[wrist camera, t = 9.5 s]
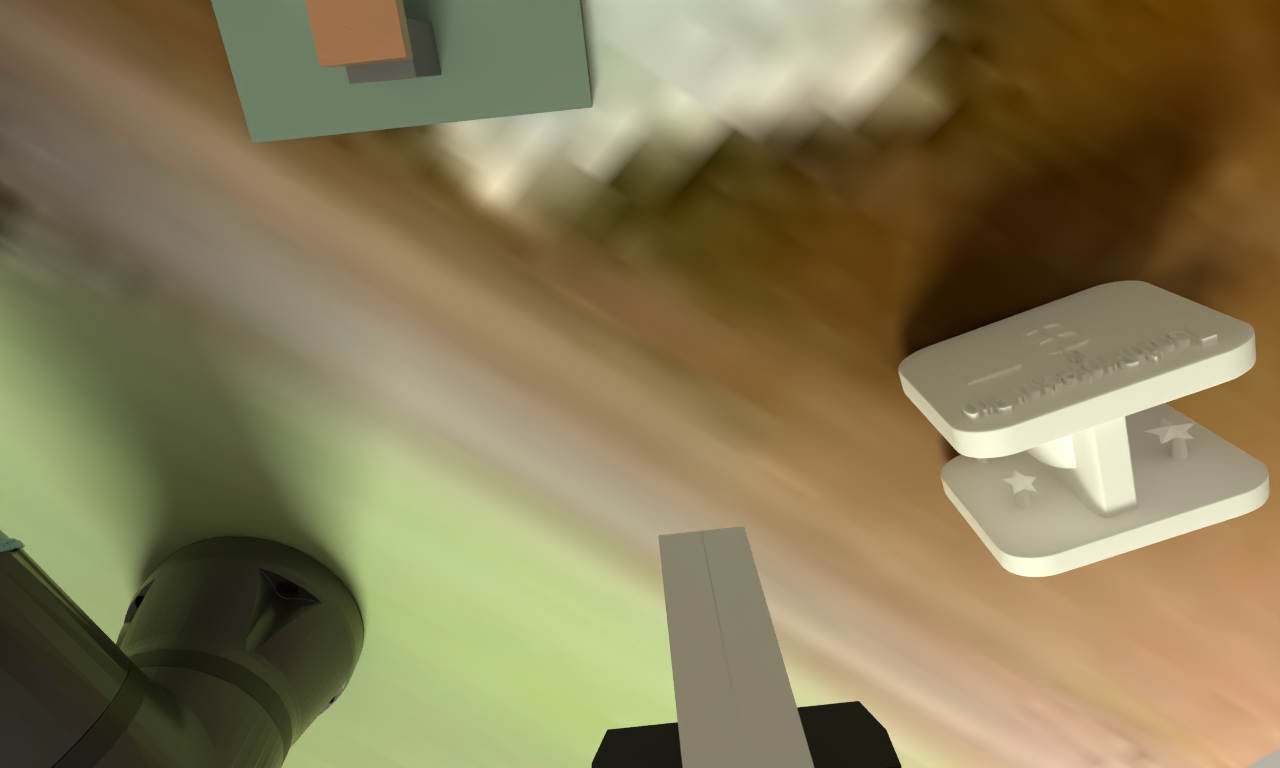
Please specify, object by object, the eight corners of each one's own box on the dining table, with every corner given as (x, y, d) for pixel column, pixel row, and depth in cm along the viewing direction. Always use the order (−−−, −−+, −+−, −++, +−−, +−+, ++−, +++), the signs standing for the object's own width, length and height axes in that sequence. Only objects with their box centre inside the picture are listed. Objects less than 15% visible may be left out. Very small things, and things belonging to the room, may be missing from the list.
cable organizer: (920, 483, 51) (1003, 595, 40) (883, 348, 47) (964, 432, 36) (1142, 408, 49) (1290, 504, 38) (1124, 261, 45) (1283, 322, 34)
